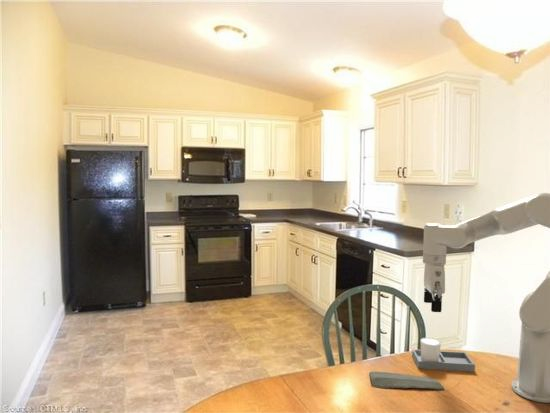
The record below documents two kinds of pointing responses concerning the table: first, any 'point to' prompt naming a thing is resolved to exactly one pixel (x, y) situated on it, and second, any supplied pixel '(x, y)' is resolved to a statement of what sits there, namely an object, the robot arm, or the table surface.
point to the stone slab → (402, 381)
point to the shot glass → (430, 349)
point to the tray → (445, 361)
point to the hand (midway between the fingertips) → (432, 307)
